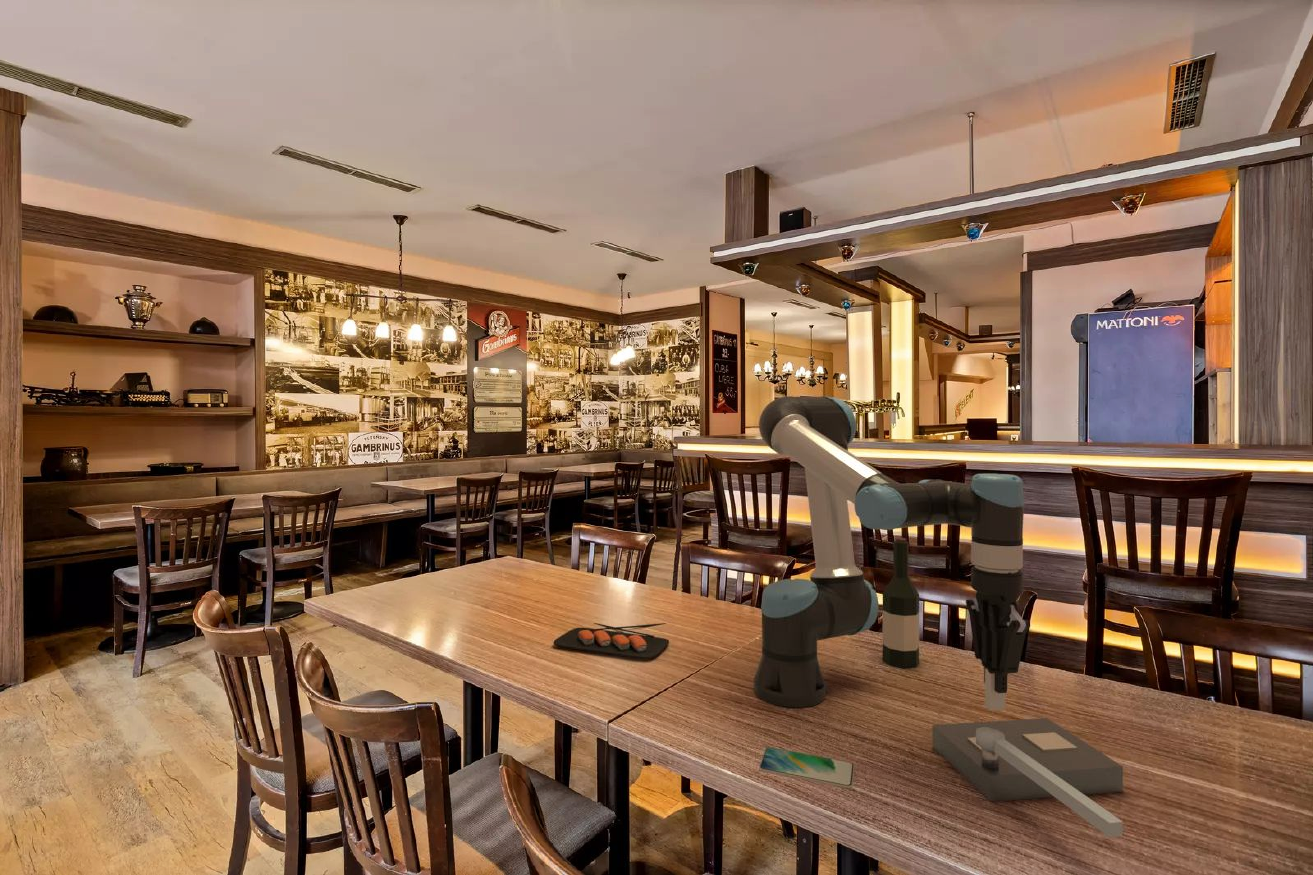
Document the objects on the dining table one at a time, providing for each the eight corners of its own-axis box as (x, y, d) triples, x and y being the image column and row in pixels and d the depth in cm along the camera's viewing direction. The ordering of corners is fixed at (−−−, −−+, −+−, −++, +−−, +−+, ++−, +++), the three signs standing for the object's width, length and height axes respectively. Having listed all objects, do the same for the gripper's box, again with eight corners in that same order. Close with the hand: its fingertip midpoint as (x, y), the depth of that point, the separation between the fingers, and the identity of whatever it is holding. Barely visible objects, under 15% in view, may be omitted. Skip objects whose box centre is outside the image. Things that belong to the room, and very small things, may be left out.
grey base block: (990, 801, 94) (990, 757, 93) (932, 747, 109) (932, 709, 109) (1122, 791, 96) (1123, 748, 96) (1047, 739, 112) (1047, 702, 112)
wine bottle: (922, 670, 144) (923, 542, 143) (885, 667, 145) (885, 541, 145) (915, 657, 152) (915, 536, 151) (879, 654, 154) (880, 535, 153)
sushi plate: (548, 650, 160) (548, 635, 159) (601, 617, 187) (601, 604, 187) (652, 666, 149) (652, 650, 149) (691, 628, 176) (691, 615, 176)
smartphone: (852, 787, 97) (758, 768, 102) (852, 792, 97) (758, 773, 102) (854, 762, 104) (766, 745, 109) (854, 767, 104) (766, 750, 109)
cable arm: (970, 739, 98) (970, 728, 98) (992, 737, 99) (992, 726, 99) (1101, 838, 75) (1101, 824, 75) (1130, 835, 75) (1130, 820, 75)
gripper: (1046, 576, 96) (1045, 726, 96) (991, 558, 109) (990, 690, 109) (1002, 578, 95) (1000, 729, 95) (951, 559, 108) (950, 692, 108)
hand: (995, 708), depth 102 cm, fingers closed
